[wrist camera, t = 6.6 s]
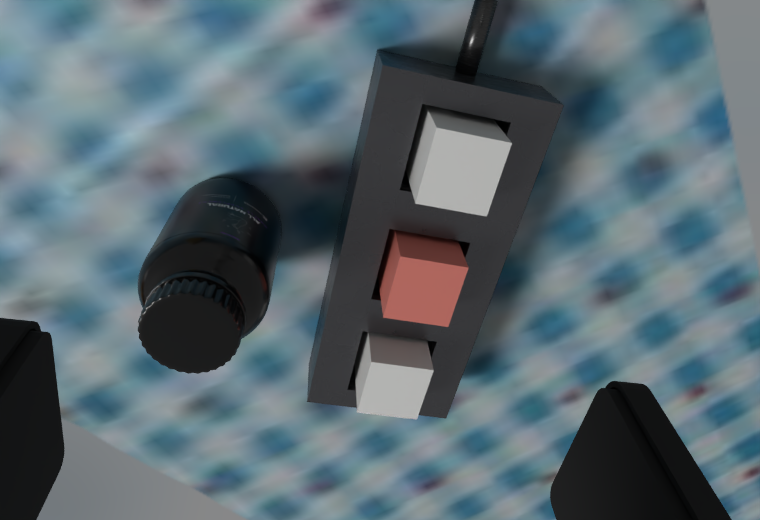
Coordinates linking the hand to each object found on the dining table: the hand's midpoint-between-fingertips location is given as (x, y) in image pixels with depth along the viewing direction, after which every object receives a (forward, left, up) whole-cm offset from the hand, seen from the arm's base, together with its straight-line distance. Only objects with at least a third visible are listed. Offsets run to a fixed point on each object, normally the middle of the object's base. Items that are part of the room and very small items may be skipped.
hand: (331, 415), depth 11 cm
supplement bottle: (+11, -5, -28) cm, 30 cm away
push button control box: (+8, +8, -28) cm, 30 cm away
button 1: (+3, +7, -27) cm, 28 cm away
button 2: (+10, +7, -27) cm, 30 cm away
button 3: (+18, +7, -27) cm, 33 cm away
